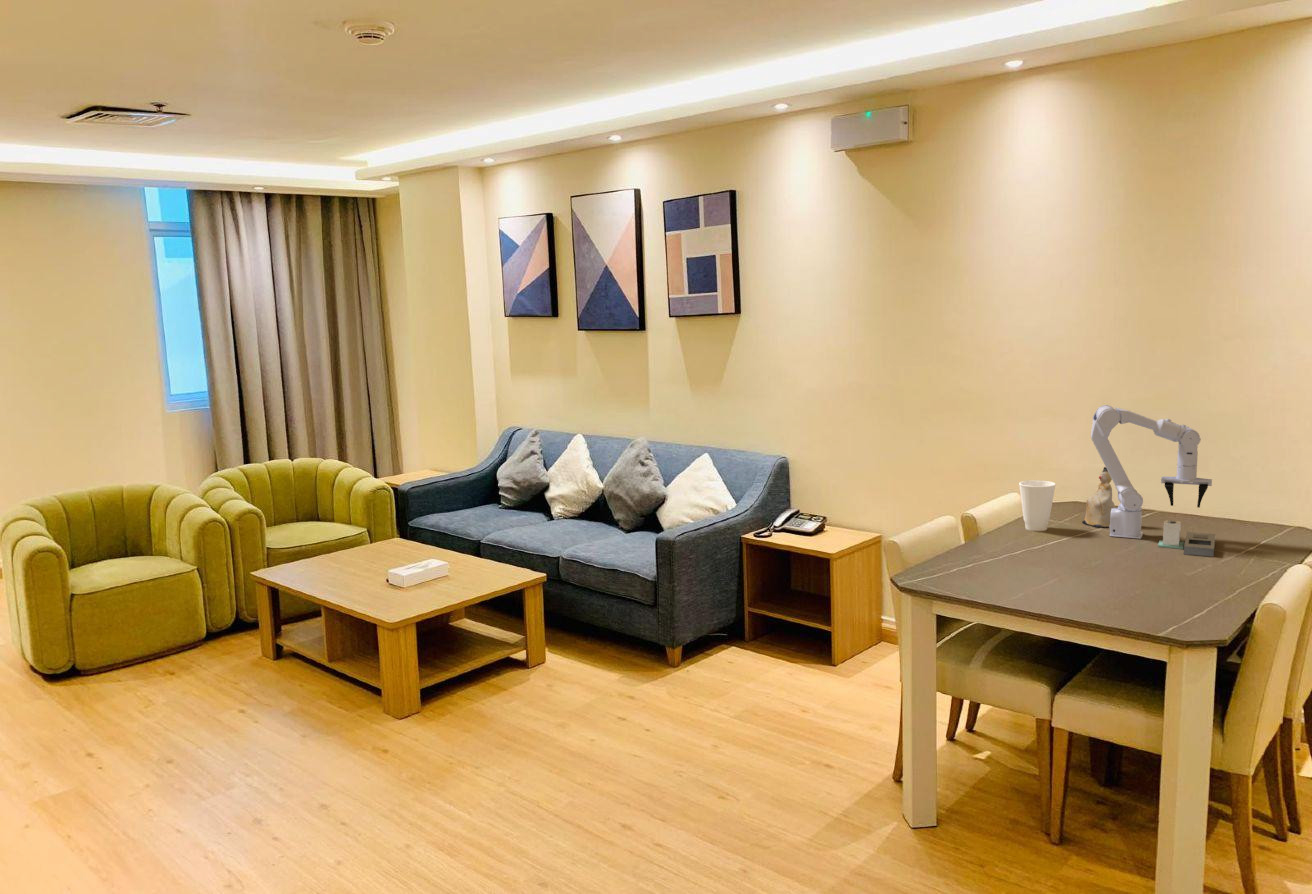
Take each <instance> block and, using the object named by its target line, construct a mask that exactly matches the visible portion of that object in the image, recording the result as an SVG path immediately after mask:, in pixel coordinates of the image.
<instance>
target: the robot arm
mask: <svg viewBox="0 0 1312 894" xmlns="http://www.w3.org/2000/svg"><path fill="white" fill-rule="evenodd" d="M1127 423H1130V424H1134V425H1137V426H1138V427H1139V426H1140V427H1142V428H1146V429H1149V430H1152V431H1153V434H1154V435H1155V436H1156V437H1159V438H1163V439H1165V440H1168V441H1170V442H1173V443H1178V445H1177V446H1178V450H1177V458H1176V460H1177V461H1176V462H1177V463H1176V476H1161V479H1160V483H1161V484H1164V488H1165V490H1166V492H1167V494H1168V498H1169V503H1170V507H1174V485H1175V484H1177V485H1178V484H1179V485H1194V486H1195V485H1196V486H1198V498H1197V506H1196V507H1197V508H1198V509H1199V508H1200V507H1201V502H1202V500H1203V497H1204V495H1205V493H1206V492H1207V490H1208V487H1212V485H1213V479H1211V478H1203V477H1202V478H1201V477H1197V475H1198V474H1197V472H1198V456H1199V455H1198V451H1199V450H1198V447H1199V444H1200V443H1201V440H1202V438H1201V436H1200V433H1198V431H1197V430H1195V429H1194V428H1191V427H1189V426H1187V425H1186V424H1183V423H1182V425H1181V424H1179V423H1176V422H1173V421H1172V419H1170V418H1168V417H1167V418H1166V419H1163V418H1160V419H1158V420H1155V419H1153V418H1150V417H1146V416H1144V415H1141V414H1139V413H1136V412H1133V411H1131V410H1128V409H1125V408H1120V407H1117V406H1116V407H1115V406H1114V407H1113V406H1111V405H1108V404H1104V405H1101V406H1099V407H1098V408H1097V409H1096V410H1095V412H1094V414H1093V416H1092V423H1091V424H1092V425H1091V430H1090V438H1091V441H1092V443H1093V444H1094V448H1095V449H1096V450H1097V453H1098V455H1099V457H1100V459H1101V461H1102V463H1103V464H1104V467H1106V468H1107V470H1108V472H1109V474H1110V476H1111V478H1112V480H1111V481H1112V482H1113V484H1114V486H1115V489H1116V491H1117V499H1118V501H1119V502H1120V503H1119V505H1118V506H1117V507H1116V508H1112V509H1111V516H1110V528H1109V536H1110V537H1113V538H1114V537H1116V538H1130V539H1142V538H1143V535H1144V532H1143V531H1142V513H1143V512H1142V511H1143V508H1142V507H1143V505H1144V498H1143V497H1142V495H1141V494H1140V493H1139V492H1138V490H1136V489H1135V487H1134V486H1133V484H1132V483H1131V481H1130V479H1129V477H1128V475H1127V473H1126V471H1125V469H1124V467H1123V465H1122V463H1121V461H1120V460H1119V458H1118V456H1117V454H1116V452H1115V450H1114V448H1113V446H1112V444H1111V442H1110V440H1109V436H1110V434H1111V432H1112V430H1113V429H1114V428H1115V427H1116V426H1117V425H1118V424H1120V425H1123V424H1127Z"/></svg>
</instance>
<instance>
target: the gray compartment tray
mask: <svg viewBox="0 0 1312 894" xmlns="http://www.w3.org/2000/svg"><path fill="white" fill-rule="evenodd" d="M1215 545H1216V533H1215V534H1214V533H1205V532H1191V531H1187V532H1186V536H1185V540H1184V547H1183V555H1188V556H1200V557H1210V558H1211V557H1212V558H1215V557H1214V556H1215Z"/></svg>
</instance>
